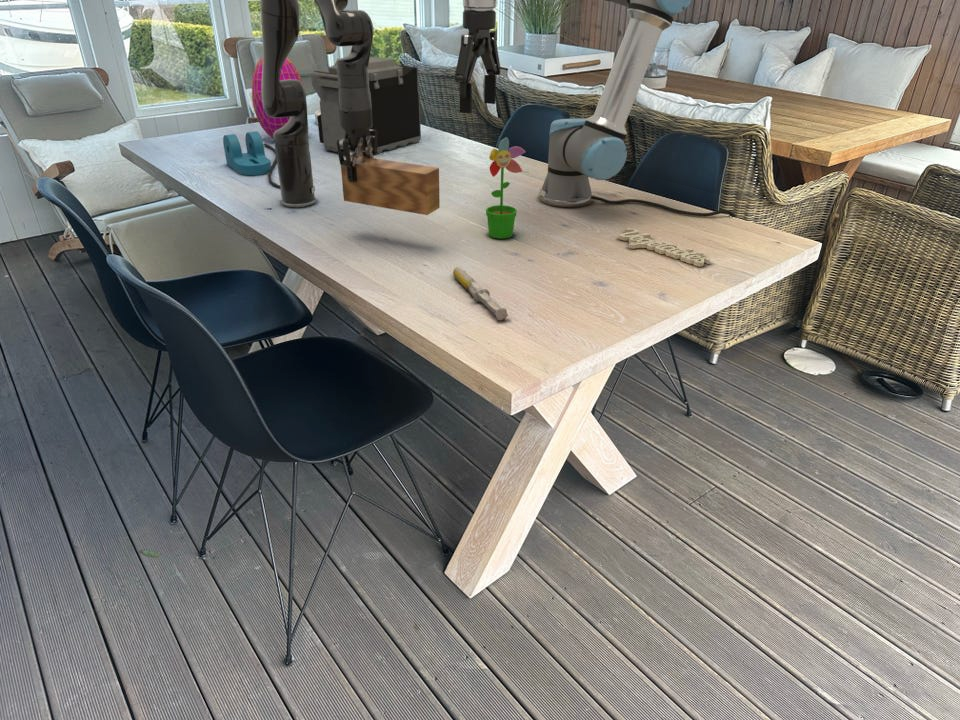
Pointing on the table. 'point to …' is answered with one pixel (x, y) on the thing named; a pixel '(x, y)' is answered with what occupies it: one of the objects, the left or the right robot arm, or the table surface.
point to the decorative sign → (663, 247)
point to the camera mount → (246, 154)
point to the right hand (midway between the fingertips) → (478, 108)
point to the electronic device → (374, 104)
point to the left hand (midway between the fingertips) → (360, 177)
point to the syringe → (479, 293)
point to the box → (393, 185)
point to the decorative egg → (265, 121)
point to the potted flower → (500, 214)
